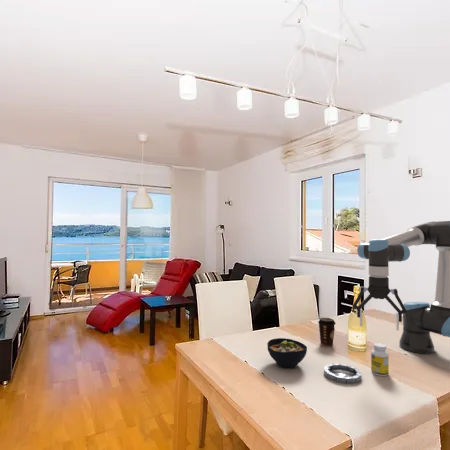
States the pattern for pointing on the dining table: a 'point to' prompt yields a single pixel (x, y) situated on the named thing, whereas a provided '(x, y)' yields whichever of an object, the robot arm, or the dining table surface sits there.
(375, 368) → the pill bottle
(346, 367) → the ring seat
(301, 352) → the bowl
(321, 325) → the coffee cup
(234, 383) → the dining table surface
